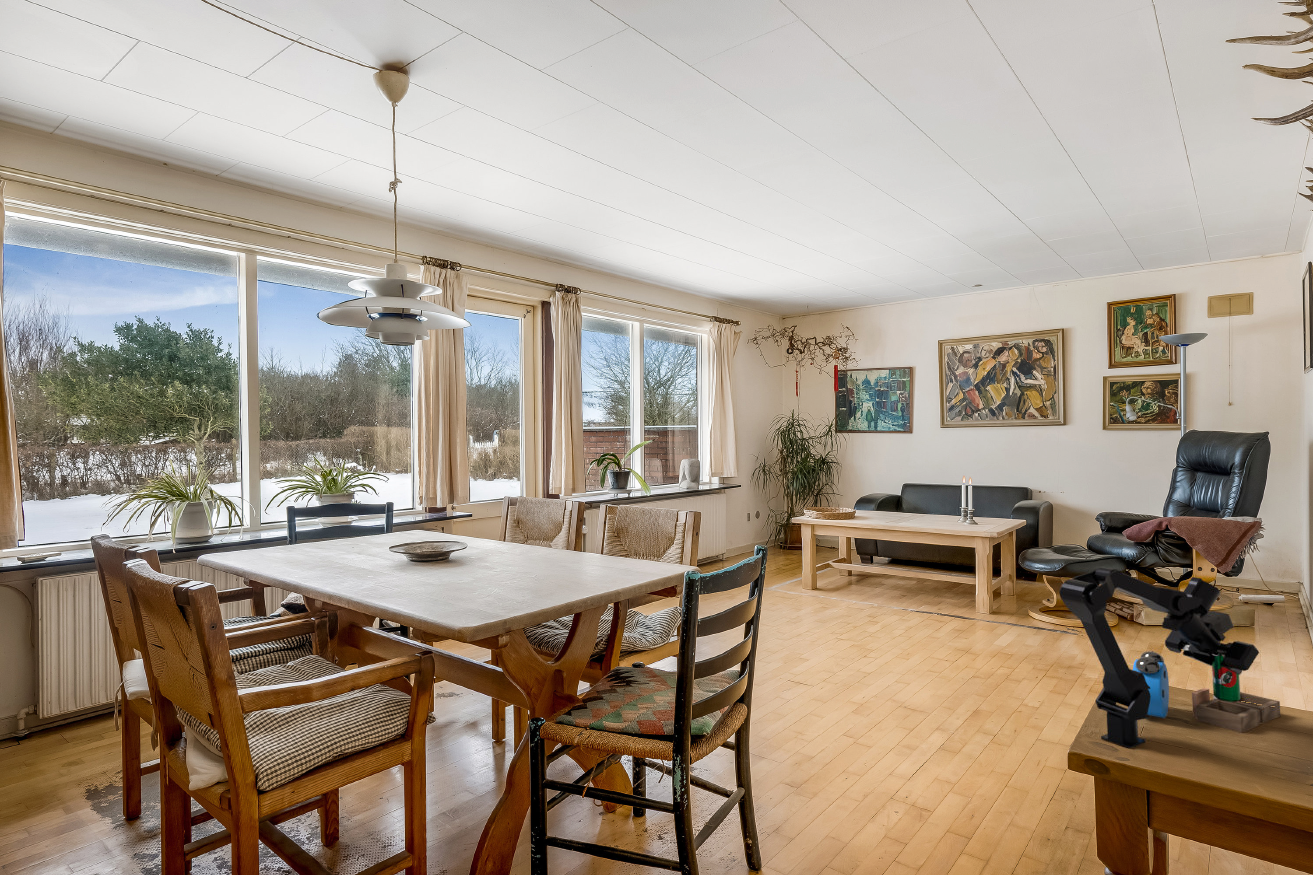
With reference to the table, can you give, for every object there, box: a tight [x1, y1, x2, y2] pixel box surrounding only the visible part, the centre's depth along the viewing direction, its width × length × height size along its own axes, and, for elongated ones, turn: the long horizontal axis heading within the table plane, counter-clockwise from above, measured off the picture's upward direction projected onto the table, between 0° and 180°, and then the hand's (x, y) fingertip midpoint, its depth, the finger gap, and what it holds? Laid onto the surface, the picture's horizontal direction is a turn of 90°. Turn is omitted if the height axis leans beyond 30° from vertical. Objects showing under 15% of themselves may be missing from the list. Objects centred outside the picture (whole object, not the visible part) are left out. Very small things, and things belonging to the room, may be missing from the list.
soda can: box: [1211, 653, 1241, 702], centre depth 168 cm, size 5×5×12 cm
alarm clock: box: [1132, 650, 1170, 719], centre depth 174 cm, size 13×6×15 cm, turn 137°
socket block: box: [1191, 687, 1281, 733], centre depth 171 cm, size 19×10×6 cm, turn 117°
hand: (1229, 669), depth 168 cm, fingers closed on soda can, 5 cm apart
